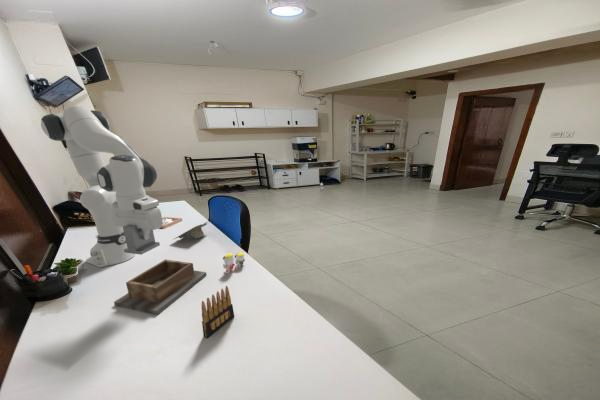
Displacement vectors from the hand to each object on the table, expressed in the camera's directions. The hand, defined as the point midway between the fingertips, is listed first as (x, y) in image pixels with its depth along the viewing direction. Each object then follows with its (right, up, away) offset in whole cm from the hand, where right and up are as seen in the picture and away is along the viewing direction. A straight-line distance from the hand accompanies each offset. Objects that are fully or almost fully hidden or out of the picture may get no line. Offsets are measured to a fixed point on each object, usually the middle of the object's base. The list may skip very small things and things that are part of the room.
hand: (140, 238), depth 93 cm
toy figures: (+29, -17, +22) cm, 40 cm away
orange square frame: (-39, -3, +89) cm, 97 cm away
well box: (+4, -22, +9) cm, 24 cm away
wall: (-6, -9, +60) cm, 61 cm away
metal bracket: (0, -4, +1) cm, 4 cm away
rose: (-37, -4, +88) cm, 95 cm away
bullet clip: (+33, -26, -13) cm, 44 cm away
